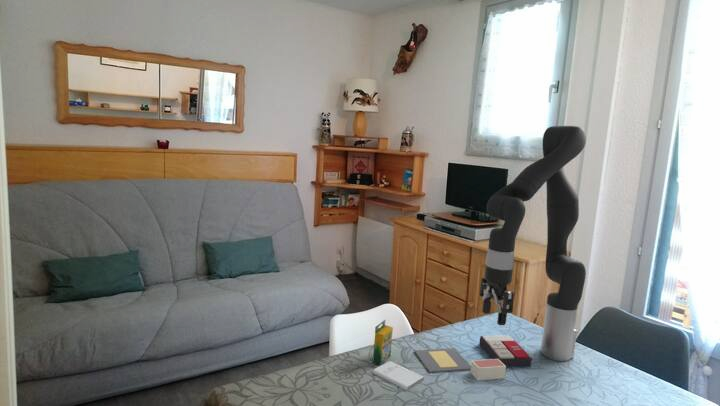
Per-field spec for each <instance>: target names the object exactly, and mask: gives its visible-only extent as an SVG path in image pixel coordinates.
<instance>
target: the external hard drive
mask: <svg viewBox="0 0 720 406" xmlns="http://www.w3.org/2000/svg"><path fill="white" fill-rule="evenodd" d="M372 373H373V374H375V375H376V376H379V378H382V379H384V380H386V381H387V382H390V383H391V384H394V385H396V386H397V387H400V388H401V389H403V390H405V391H409V390H410V389H412V388H413V387H415V386H417V385H418V384H420V383H422V382H423V381H424V380H425V376H423V375H421V374H418V373H417V372H414V371H412V370H410V369H407V368H405V367H403V366H402V365H399V364H397V363H395V362H393V361H390V360H389V361H387V362H386V363H385V362H384V364H383V363H382V364H381V365H379V366H378V367H376V368H374V369H373V371H372Z"/></svg>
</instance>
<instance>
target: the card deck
mask: <svg viewBox="0 0 720 406" xmlns="http://www.w3.org/2000/svg"><path fill="white" fill-rule="evenodd" d="M470 366H471V370H470V373H471V375H472V376H473V377H474V378H475V379H476V381H487V380H500V379H501V380H502V379H505V378H506V371H507V367H506V366H505V365H504V364H503V363H502V362H501V361H500V360H499V359H491V358H489V359H477V360H471V364H470Z"/></svg>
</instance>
